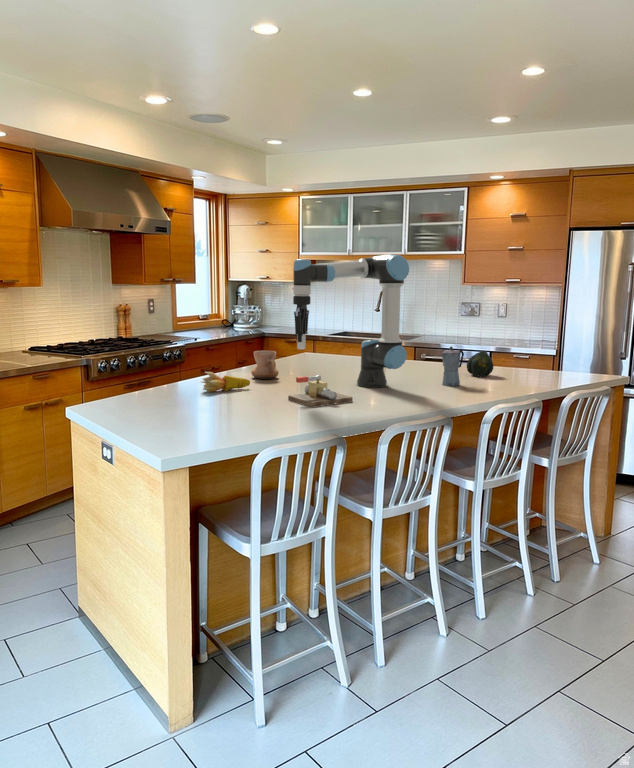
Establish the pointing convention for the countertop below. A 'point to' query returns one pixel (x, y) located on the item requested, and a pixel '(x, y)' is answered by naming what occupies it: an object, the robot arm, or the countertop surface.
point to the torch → (223, 382)
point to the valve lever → (308, 378)
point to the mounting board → (318, 399)
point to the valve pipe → (319, 390)
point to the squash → (480, 364)
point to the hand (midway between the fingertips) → (301, 348)
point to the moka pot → (451, 366)
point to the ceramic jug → (265, 365)
